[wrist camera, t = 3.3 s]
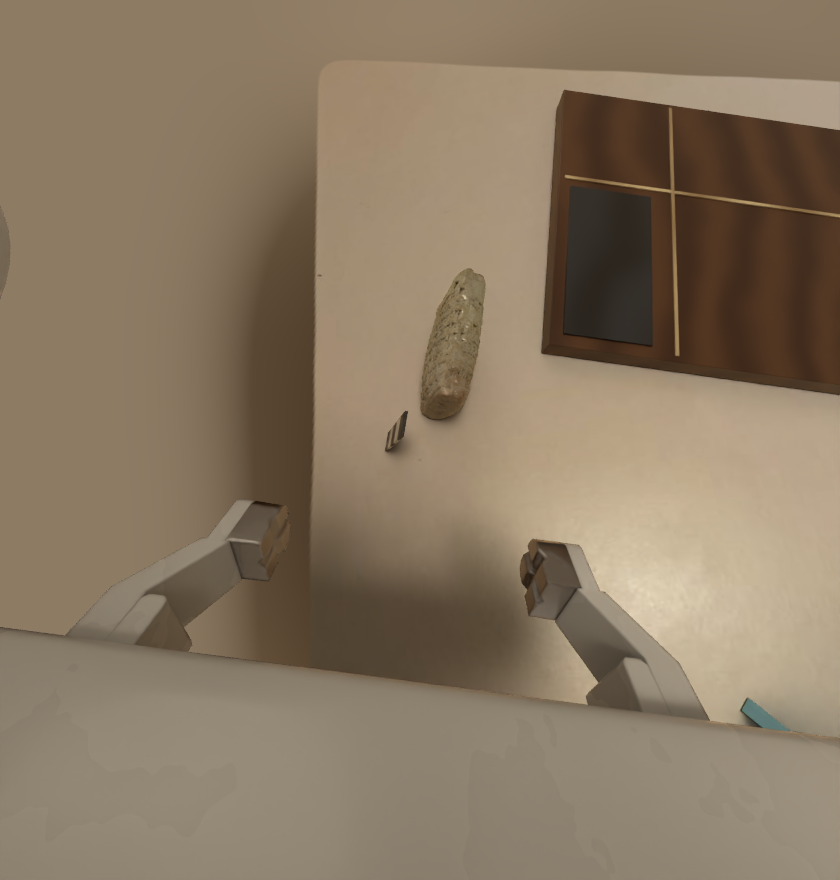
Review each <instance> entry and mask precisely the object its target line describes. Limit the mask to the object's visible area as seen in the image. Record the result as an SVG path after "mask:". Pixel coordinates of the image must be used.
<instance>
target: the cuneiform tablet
mask: <svg viewBox="0 0 840 880" xmlns="http://www.w3.org/2000/svg"><path fill="white" fill-rule="evenodd" d="M484 296H485V280H484V277H483V276H482V275H480V274H477V273H474V272H473V270H472V269H469V268H468V269H465V270H463V271H462V272H461V273H459V274H458V275H457V276H456V277H455V279H454V281H453V283H452V285H451V287H450V288H449V290H448V293H447V294H446V296H445V297H444V299H443V301H442V302H441V304H440V305H439V307H438V309H437V312H436V319H435V323H434V326H433V331H432V333H431V335H430V339H429V344H428V347H427V353H426V359H425V365H424V369H423V376H422V393H421V398H422V402H421V412H422V414H424V415H425V416H427V417H428V418H431V419H441V418H446V417H449V416H451V415H453V414H455V413H456V412H457V411H459V410H460V409H461V408H462V407H463V405H464V403H465V401H466V397H467V395H468V393H469V390H470V382H471V379H472V377H473V371H474V367H475V364H476V358H477V356H478V349H479V343H480V338H479V337H480V334H481V326H482V317H483V309H484V308H483V302H484ZM407 414H408V411H405V412H404V413H403V415H402V416H401V417H400V418H399V420H398V421H397V422H396V423H395V425H394V426H393V427H392V429H391V430H390V431H389V432H388V437H387V442H386V448H385V451H388V450H389V449H390V448H391V447H392V446H393V445H395V444H396V443H397V442H398V441H399V440H400V439H401V438H402V437H404V432H405V426H406V420H407Z"/></svg>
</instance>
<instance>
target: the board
mask: <svg viewBox="0 0 840 880" xmlns="http://www.w3.org/2000/svg"><path fill="white" fill-rule="evenodd" d="M542 353H546V354H553V355H561V356H568V357H575V358H582V359H589V360H596V361H604V362H611V363H618V364H625V365H632V366H640V367H647V368H654V369H661V370H668V371H675V372H683V373H690V374H697V375H704V376H711V377H718V378H726V379H733V380H740V381H747V382H754V383H762V384H769V385H776V386H783V387H790V388H797V389H805V390H812V391H819V392H826V393H833V394H840V130H834V129H827V128H821V127H814V126H807V125H800V124H793V123H786V122H780V121H773V120H766V119H759V118H752V117H745V116H739V115H732V114H725V113H718V112H711V111H705V110H698V109H691V108H684V107H677V106H670V105H664V104H657V103H650V102H643V101H636V100H630V99H623V98H616V97H609V96H602V95H595V94H589V93H582V92H575V91H568V90H564V91H563V94H562V96H561V99H560V102H559V104H558V107H557V116H556V132H555V149H554V165H553V181H552V197H551V213H550V230H549V246H548V262H547V278H546V294H545V311H544V327H543V343H542Z"/></svg>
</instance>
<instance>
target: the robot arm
mask: <svg viewBox="0 0 840 880" xmlns="http://www.w3.org/2000/svg"><path fill="white" fill-rule="evenodd" d="M288 514H289V513H288V508H287V506H283V505H277V504H271V503H265V502H258V501H252V500H245V499H239V500H237V501H236V502H235V503H234V504H233V505H232V506H231V508H230V509H229V510H228V511H227V513H226V514H225V515H224V517H223V518H222V519H221V521H220V522H219V523H218V525H217V526H216V527H215V528H214V529H213V531H212V532H211V533H210V535H209V536H208V537H207V538H201V539H198V540H197V541H195V542H193V543H191V544H189V545H187V546H185V547H184V548H182V549H180V550H178V551H176V552H174V553H173V554H171V555H169V556H167V557H165V558H163V559H161V560H160V561H158V562H156V563H154V564H152V565H150V566H149V567H147V568H145V569H143V570H141V571H139V572H137V573H136V574H134V575H132V576H130V577H128V578H126V579H124V580H123V581H121V582H119V583H117V584H115V585H113V586H111V587H110V588H109V590H108V591H107V592H106V593H105V594H104V595H103V596H102V597H101V598H100V599H99V600H98V601H97V602H96V603H95V604H94V605H93V607H92V608H91V609H90V610H89V611H88V612H87V613H86V614H85V615H84V616H83V617H82V618H81V619H80V620H79V621H78V623H76V625H75V626H74V627H73V628H72V629H71V630H70V631H69V632H68V633H67V634H66V635H65V636H63V635H56V634H48V633H40V632H33V631H25V630H18V629H10V628H3V627H0V880H840V738H835V737H827V736H819V735H812V734H804V733H797V732H789V731H782V730H774V729H767V728H759V727H752V726H744V725H737V724H729V723H722V722H714V721H710V720H709V718H708V716H707V714H706V712H705V710H704V708H703V707H702V705H701V703H700V701H699V699H698V697H697V695H696V693H695V692H694V690H693V688H692V686H691V684H690V682H689V680H688V678H687V677H686V675H685V673H684V671H683V669H682V667H681V665H680V664H679V662H678V661H677V660H675V659H674V658H673V657H672V656H671V655H670V654H669V653H668V652H667V651H666V650H665V649H664V648H663V647H662V646H661V645H660V644H659V643H658V642H657V641H656V640H655V639H654V638H652V637H651V636H650V635H649V634H648V633H647V632H646V631H645V630H644V629H643V628H642V627H641V626H640V625H639V624H638V623H637V622H636V621H635V620H634V619H633V618H632V617H630V616H629V615H628V614H627V613H626V612H625V611H624V610H623V609H622V608H621V607H620V606H619V605H618V604H617V603H616V602H615V601H614V600H613V599H612V598H611V597H610V596H609V595H607V594H606V593H605V592H602V591H600V590H599V588H598V585H597V583H596V581H595V578H594V576H593V574H592V571H591V569H590V567H589V564H588V562H587V560H586V557H585V555H584V553H583V550H582V548H581V547H580V546H579V545H575V544H568V543H561V542H553V541H545V540H537V539H532V540H531V541H530V542H529V544H528V550H529V552H527V553H525V554H524V555H523V557H522V559H521V564H520V577H521V582H522V584H523V585H524V586H525V588H526V589H527V592H526V594H525V596H524V597H525V601H526V606H527V610H528V615H529V616H530V617H536V618H543V619H549V620H555V623H556V624H557V626H558V627H559V628H560V630H561V631H562V632H563V634H564V635H565V637H566V638H567V639H568V641H569V642H570V644H571V645H572V646H573V648H574V649H575V651H576V652H577V653H578V655H579V656H580V658H581V659H582V660H583V662H584V663H585V664H586V666H587V667H588V669H589V670H590V671H591V673H592V674H593V676H594V677H595V678H596V680H597V681H598V684H597V685H596V686H595V687H594V688H593V689H592V690H591V691H590V692H589V693H588V694H587V695H586V699H587V703H588V705H585V704H578V703H570V702H563V701H555V700H548V699H540V698H533V697H525V696H518V695H510V694H502V693H495V692H487V691H480V690H472V689H465V688H457V687H450V686H442V685H435V684H427V683H419V682H412V681H404V680H397V679H389V678H382V677H374V676H367V675H359V674H352V673H344V672H336V671H329V670H321V669H314V668H306V667H298V666H291V665H283V664H276V663H268V662H261V661H252V660H246V659H237V658H230V657H223V656H215V655H208V654H200V653H192V652H188V651H189V649H190V647H191V646H192V642H191V639H190V637H189V636H188V634H187V632H186V631H185V629H184V626H186V625H187V624H188V623H189V622H191V621H192V620H193V619H194V618H196V617H197V616H198V615H199V614H201V613H202V612H203V611H204V610H206V609H207V608H208V607H209V606H210V605H212V604H213V603H214V602H215V601H217V600H218V599H219V598H220V597H222V596H223V595H224V594H225V593H227V592H228V591H229V590H230V589H231V588H233V587H234V586H235V585H236V584H238V583H239V582H240V581H241V580H242V579H252V580H261V581H269V580H270V578H271V576H272V574H273V572H274V570H275V568H276V566H277V564H278V559H277V556H278V555H279V554H281V553H282V552H284V551H285V548H286V546H287V544H288V541H289V537H290V533H291V526H290V522H289V521H288V520H287V519H286V517H287V515H288Z"/></svg>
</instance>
